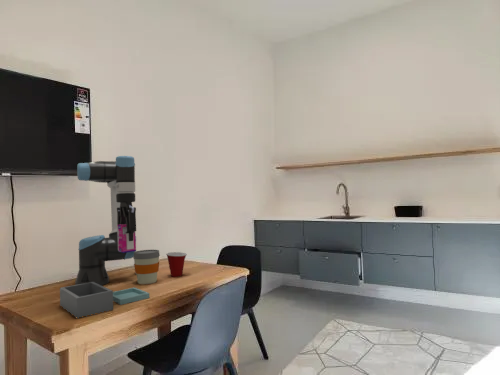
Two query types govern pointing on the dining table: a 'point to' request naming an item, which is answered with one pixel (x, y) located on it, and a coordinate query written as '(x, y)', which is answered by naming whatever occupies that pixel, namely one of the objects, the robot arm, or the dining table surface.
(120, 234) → the supplement box
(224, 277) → the dining table surface
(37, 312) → the dining table surface
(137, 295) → the tray
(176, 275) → the plastic cup
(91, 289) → the deep bin
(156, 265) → the reusable coffee cup
